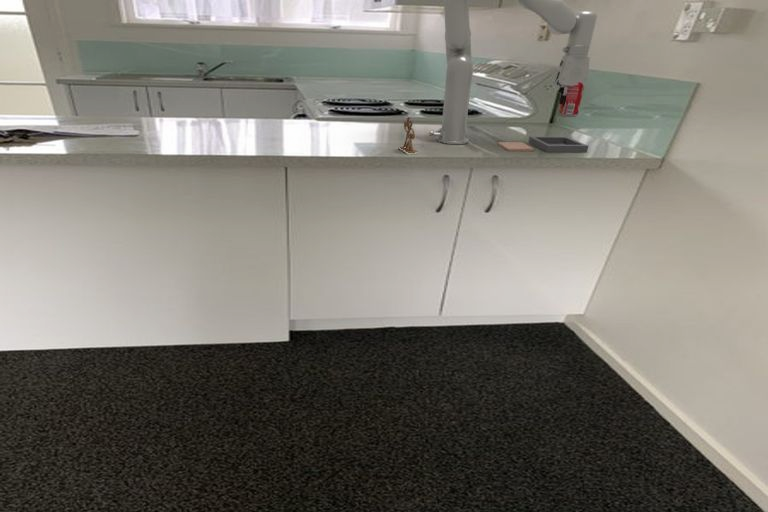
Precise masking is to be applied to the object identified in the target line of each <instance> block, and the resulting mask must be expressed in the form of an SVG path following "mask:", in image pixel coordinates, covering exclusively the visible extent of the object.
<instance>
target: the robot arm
mask: <svg viewBox="0 0 768 512" xmlns="http://www.w3.org/2000/svg"><path fill="white" fill-rule="evenodd" d="M515 2H517V4H519V6H521V7H522V8H523V9H526V10H528V11H531V12H532V13H534V14H536V15H537V16H538V17H540V18H541V19H542V20H544V21H545V23H547V24H546V26H547V27H546V28H547V30H548V32H549V33H551V34H552V35H556V36H558V35H559V36H560V35H567V34H568V40H567V43H566V46H565V47H563V48H562V52H564V55H562V56H561V59H560V62H559V64H558V68H557V71H556V75H555V79H554V85H553V86H552V88H553V89H555V90H557V91H558V92H559V94H560V98H559V102H558V103H559V105H560V104H563V106H562V107H564V106H565V101H566V97H567V96H566V94H567V88H568V86H569V87H572V86H574V85H575V84H576V83H578V82H581V83H582V84H583V86H584V87H585V86H586V84H587V80H588V76H589V75H588V74H589V68H590V56H588V55H589V53H590V51H589V50H590V47H591V43H592V38H593V34H594V30H595V26H596V24H597V23H596V22H597V17H598V15H597V13H596V12H595V11H590V10H589V11H587V10H585V11H584V10H583V11H580V10H579V11H576V12H575V11H574V9H573V8H572V7H570V5H569V4H568V3H566V2H565V1H564V0H515ZM443 5H444V6H443V8H444V9H443V12H444V29H445V31H444V41H445V55H446V70H445V71H446V72H445V75H446V76H445V85H444V95H443V109H442V110H443V111H442V118H441V119H442V120H441V121H442V122H441V127H439V129H437V130H429V133H428V135H429V136H430V137H436V141H437V140H438V141H440V142H439V143H441V142H443V143H442V144H446V143H447V145H466V144H467V143H469V142H470V141H469V138H468V137H466V131H467V121H468V115H469V114H468V113H469V103H470V97H471V96H470V94H471V87H472V86H471V85H472V81H473V75H474V74H473V73H474V64H473V60H472V44H471V43H472V42H471V36H472V30H471V26H470V13H469V11H470V10H469V8H470V7H469V6H470V5H469V0H443ZM564 97H565V98H564ZM563 101H564V102H563ZM559 105H558V106H559ZM438 141H437V142H438Z"/></svg>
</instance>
